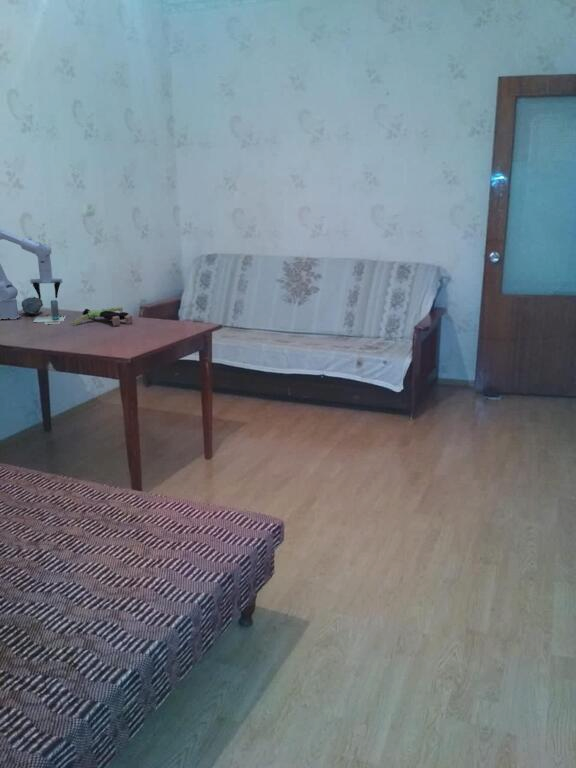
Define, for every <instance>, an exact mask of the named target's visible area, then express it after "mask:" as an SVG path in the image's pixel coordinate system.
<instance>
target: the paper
mask: <svg viewBox="0 0 576 768" xmlns="http://www.w3.org/2000/svg"><path fill="white" fill-rule="evenodd" d="M61 316H62V317H59V320H52V315H50V316H49V315H48V316H36V317H35V319H34V320H33V322H37V323H45V322H53V321H60V322H65V320H64V319H66V317H67V315H61ZM63 316H64V317H63Z"/></svg>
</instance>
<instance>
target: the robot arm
mask: <svg viewBox="0 0 576 768" xmlns="http://www.w3.org/2000/svg"><path fill="white" fill-rule="evenodd" d="M0 240H5V241H8V242H10V243H12V244H13V243H14V244H16V245H19V246H20V248H21V249H22V250H24V251H26V252H30V253H32V254H34V255H35V256H36V257H37V263H38V271H39V273H38V274H39V278H34V279H30V280H29V282H30V285H32V287H33V288H34V290H35V292H36V294H37V296H38V297H37V298H39V299H41V298H42V295H41V289H40V288H41V286H40V284H53V287H54V297H55V299H58V294H59V289H60V286H61V284H63V279H62V278H53V270H52V260H51V254H52V248H51V247H50V246H49V245H48V244H46V243H43V244H42V242H40V241H35V240H33V238H31V237H25V238H22V237H21V236H17V235H15V234H13V233H11V232H9V231H6V230H5V229H2V228H0ZM17 297H18V289H17V288H16V287H15V286H14V284H13V282H11V281H10V280H9V279H8V277H7V275H6V273H5V270H4V269H3V267H2V264H1V263H0V316H1V317H0V318H17V317H19V316H18V315H19V310H18V302H17V301H18V300H17Z"/></svg>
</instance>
